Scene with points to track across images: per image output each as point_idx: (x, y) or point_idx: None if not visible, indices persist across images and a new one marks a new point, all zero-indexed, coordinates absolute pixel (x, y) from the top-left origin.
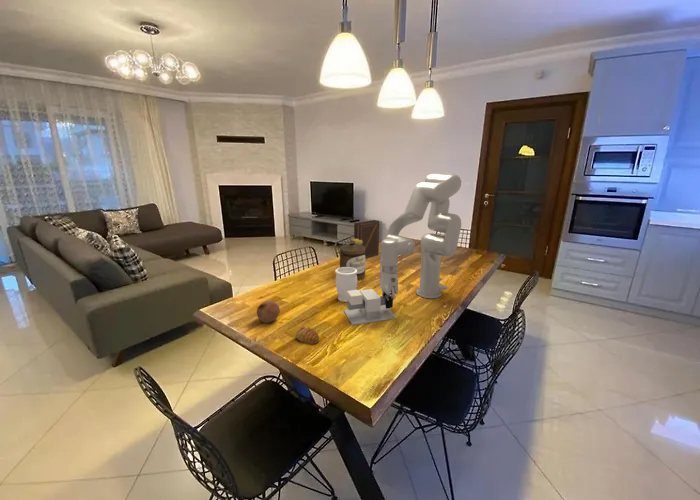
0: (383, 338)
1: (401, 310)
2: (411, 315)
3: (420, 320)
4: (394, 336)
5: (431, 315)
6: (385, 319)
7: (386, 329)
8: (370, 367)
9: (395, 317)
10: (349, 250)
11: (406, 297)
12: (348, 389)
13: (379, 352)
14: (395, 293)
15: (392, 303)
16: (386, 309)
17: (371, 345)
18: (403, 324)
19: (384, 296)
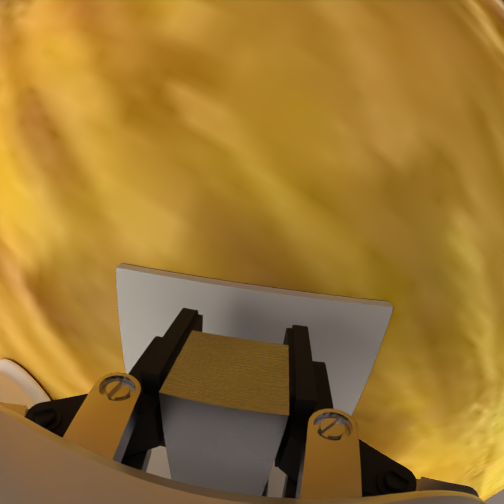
0: (468, 435)
1: (279, 160)
2: (410, 136)
3: (493, 136)
4: (496, 393)
5: (450, 10)
6: (361, 388)
7: (438, 411)
8: (498, 471)
9: (390, 314)
10: None
11: (83, 12)
12: (490, 495)
13: (493, 453)
14: (401, 502)
15: (309, 359)
16: (218, 310)
17: (456, 470)
18: (475, 297)
19: (188, 458)
